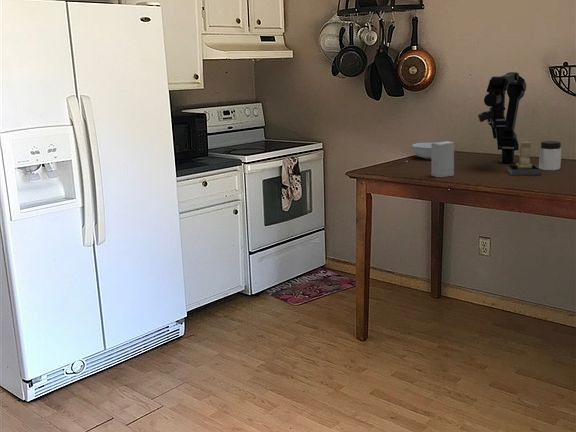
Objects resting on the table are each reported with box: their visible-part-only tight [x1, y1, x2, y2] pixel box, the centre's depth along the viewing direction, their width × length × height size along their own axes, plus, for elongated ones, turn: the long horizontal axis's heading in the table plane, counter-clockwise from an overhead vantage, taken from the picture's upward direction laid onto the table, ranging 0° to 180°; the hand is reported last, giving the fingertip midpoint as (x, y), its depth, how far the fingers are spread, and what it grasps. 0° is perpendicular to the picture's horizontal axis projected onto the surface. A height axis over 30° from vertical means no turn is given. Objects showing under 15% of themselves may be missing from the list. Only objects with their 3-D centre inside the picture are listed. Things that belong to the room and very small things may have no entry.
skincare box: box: [430, 140, 455, 178], centre depth 278 cm, size 8×6×15 cm
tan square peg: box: [518, 141, 531, 165], centre depth 277 cm, size 4×4×13 cm
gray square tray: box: [506, 162, 542, 177], centre depth 279 cm, size 12×12×4 cm
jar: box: [538, 140, 562, 171], centre depth 285 cm, size 9×8×12 cm
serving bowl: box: [411, 142, 433, 160], centre depth 327 cm, size 21×21×7 cm
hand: (496, 139), depth 290 cm, fingers open, 9 cm apart
